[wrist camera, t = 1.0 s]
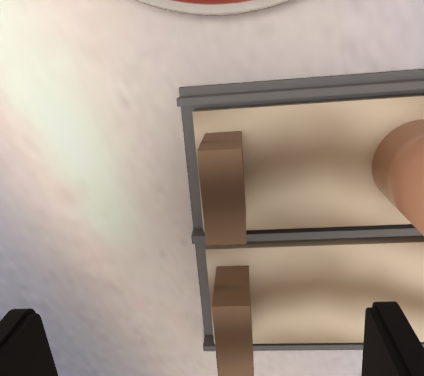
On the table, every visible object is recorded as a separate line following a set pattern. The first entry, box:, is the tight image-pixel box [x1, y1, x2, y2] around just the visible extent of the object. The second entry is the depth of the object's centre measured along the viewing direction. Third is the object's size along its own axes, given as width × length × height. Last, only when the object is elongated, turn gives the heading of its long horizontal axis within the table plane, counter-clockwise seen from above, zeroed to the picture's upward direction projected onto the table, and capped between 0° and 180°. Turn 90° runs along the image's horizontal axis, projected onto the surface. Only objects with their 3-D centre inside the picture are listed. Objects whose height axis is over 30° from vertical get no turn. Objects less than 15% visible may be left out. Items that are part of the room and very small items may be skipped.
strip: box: [205, 235, 424, 376], centre depth 28 cm, size 9×22×6 cm, turn 94°
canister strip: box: [192, 93, 424, 246], centre depth 25 cm, size 9×22×6 cm, turn 95°
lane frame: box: [177, 69, 424, 351], centre depth 29 cm, size 22×24×2 cm
